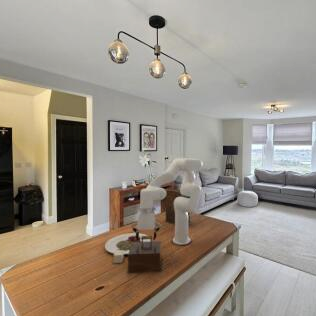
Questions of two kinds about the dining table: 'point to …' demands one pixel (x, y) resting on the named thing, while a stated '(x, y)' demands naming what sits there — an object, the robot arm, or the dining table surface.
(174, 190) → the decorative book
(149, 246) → the lid
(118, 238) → the plated food
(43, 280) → the dining table surface
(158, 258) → the chest
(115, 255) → the block
